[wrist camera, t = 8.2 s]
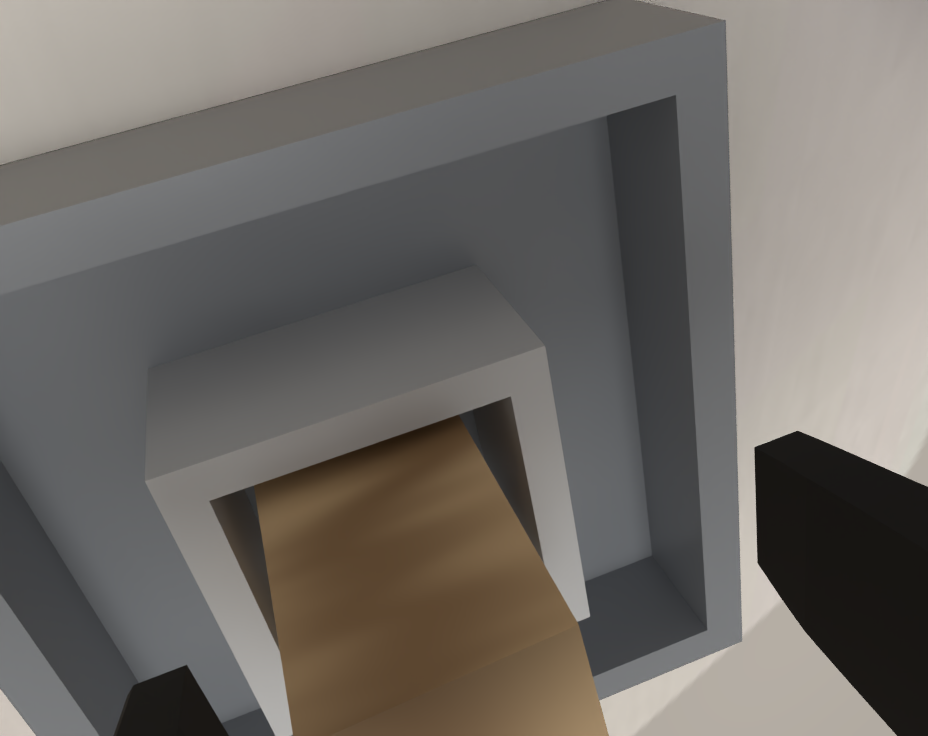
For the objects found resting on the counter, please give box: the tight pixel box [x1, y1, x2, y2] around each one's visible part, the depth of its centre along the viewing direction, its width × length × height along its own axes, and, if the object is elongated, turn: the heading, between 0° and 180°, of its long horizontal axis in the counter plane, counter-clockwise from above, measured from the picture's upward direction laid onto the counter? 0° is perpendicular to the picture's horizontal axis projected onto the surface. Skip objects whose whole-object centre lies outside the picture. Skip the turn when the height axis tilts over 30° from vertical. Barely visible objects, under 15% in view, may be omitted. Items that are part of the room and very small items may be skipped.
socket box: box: [0, 0, 742, 736], centre depth 19 cm, size 16×16×5 cm
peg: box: [254, 415, 609, 736], centre depth 16 cm, size 4×4×9 cm
